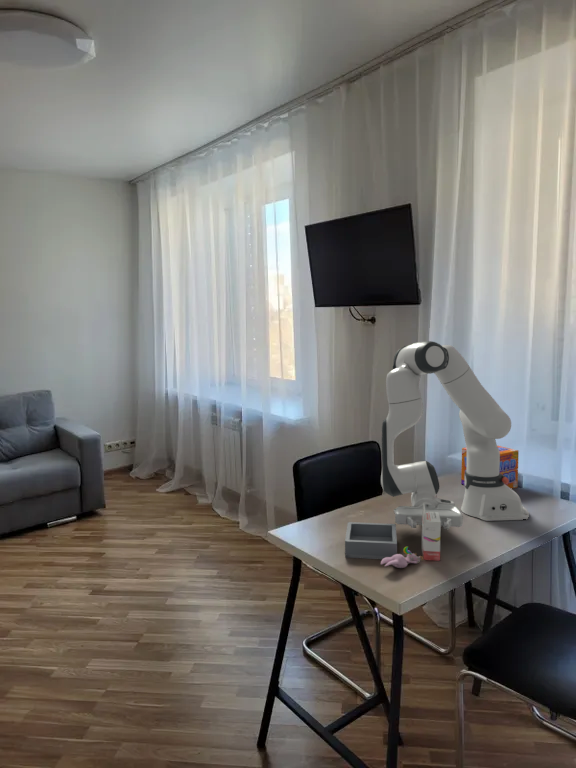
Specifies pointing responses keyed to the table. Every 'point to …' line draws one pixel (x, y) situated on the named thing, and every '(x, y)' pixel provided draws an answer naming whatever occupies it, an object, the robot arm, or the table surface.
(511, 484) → the game box
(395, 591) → the table surface
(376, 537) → the cartridge bin
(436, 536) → the ink cartridge box
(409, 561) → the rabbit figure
